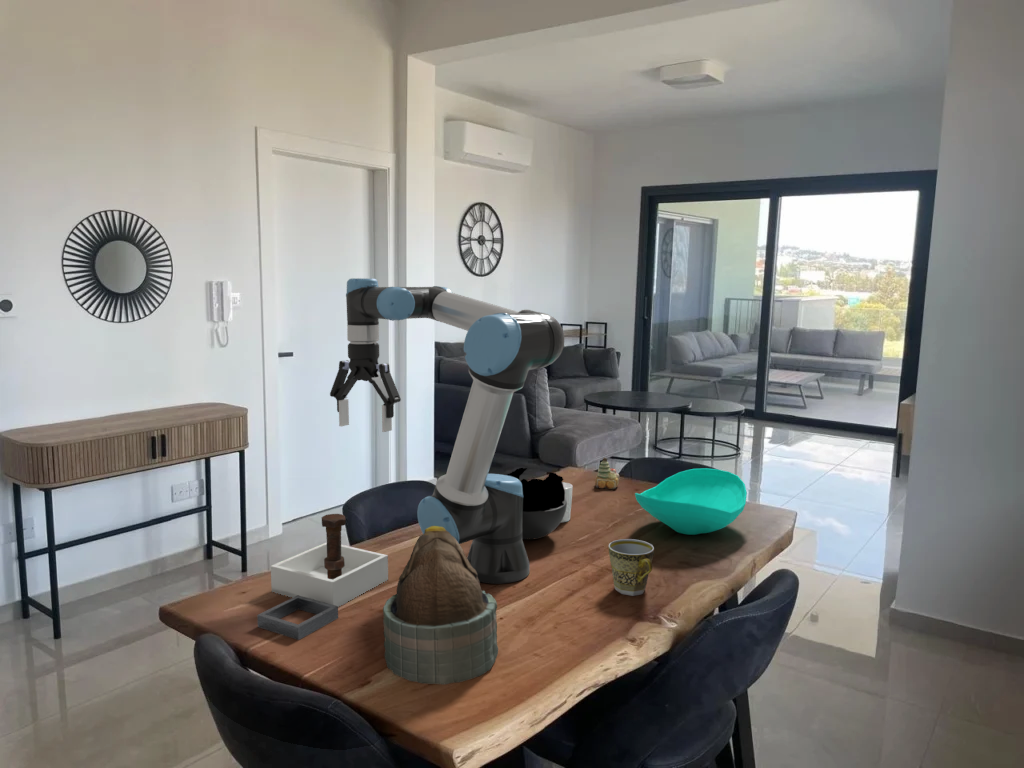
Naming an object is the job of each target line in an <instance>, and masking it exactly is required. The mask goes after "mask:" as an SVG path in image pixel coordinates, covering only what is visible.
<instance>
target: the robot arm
mask: <svg viewBox="0 0 1024 768" xmlns="http://www.w3.org/2000/svg"><path fill="white" fill-rule="evenodd" d="M345 297H346V299H345V300H346V301H345V302H346V321H347V322H346V324H347V325H346V326H347V329H346V330H347V332H346V333H347V334H346V335H347V336H346V338H347V341H348V342H349V343H348V344H347V357H348V358H349V360H348V359H345V360H340V361H339V363H338V371H337V373H336V375H335V379H334V381H333V384H332V387H331V390H330V391H329V396H330V397H331V398H332V397H333V398H335V400H336V411H337V413H338V422H339V425H338V426H339V427H345V426H348V425H350V417H349V415H350V414H349V399H348V395H349V393H350V392H351V390H352V389H353V387H354V386H355V384H356V383H357V381H364V382H368V383H370V384H371V385H372V387H373V388H374V390H375V391H376V392H377V394H378V395H379V397H380V399H381V400H382V402H383V404H382V405H381V427H382V428H381V429H382V433H387V432H390V431H393V426H392V425H393V422H392V421H393V420H392V419H393V418H394V416H395V415H394V414H395V411H394V409H395V407H394V405H395V404H396V403H399V402H401V401H402V399H401V397H400V394H399V392H398V389H397V386H396V384H395V381H394V379H393V376H392V374H391V371H390V364H389V363H388V362H385V363H384V362H383V363H380V364H379V358H380V344H379V343H378V341H379V340H380V334H379V333H380V332H379V331H380V329H379V328H380V327H379V326H380V325H379V319H380V320H389V321H393V322H394V321H403V320H407V319H408V320H409V319H430V320H434V321H437V322H440V323H444V324H446V325H449V326H452V327H455V328H458V329H461V330H464V331H467V332H466V335H465V338H464V340H463V341H464V343H463V353H465V354H466V355H465V356H464V359H465V362H466V364H467V365H468V373H469V375H470V377H471V378H472V384H471V387H470V390H469V391H470V392H469V394H468V398H467V402H466V404H465V408H464V412H463V415H462V417H461V418H462V419H461V421H460V424H459V425H460V426H459V428H458V432H457V435H456V439H455V442H454V446H453V450H452V452H451V457H450V458H449V459H450V460H449V463H448V466H447V470H446V474H444V475H441V476H439V478H437V481H436V483H435V485H434V486H435V487H434V490H433V493H432V495H427V496H426V497H424V498H423V499H421V500H420V502H418V503H419V504H418V506H417V522H418V525H419V527H420V530H421V533H422V535H423V534H424V533H425V529H427V528H429V527H431V526H439V527H443V528H445V530H446V531H448V532H449V533H450V534H451V535H452V536H453V537H454V538H455V539H456V540H457V542H458V543H459V544H460V545H461V544H465V543H467V542H471V544H470V547H469V551H468V554H467V556H466V558H467V559H468V561H469V563H470V564H471V566H472V567H473V568H474V569H475V570H476V572H477V574H478V575H477V577H478V580H479V582H480V583H485V584H499V585H500V584H510V583H515V582H518V581H521V580H523V579H525V578H527V577H528V575H529V574H530V571H531V570H530V569H531V568H530V566H531V565H530V563H531V562H530V559H529V558H528V552H527V550H526V548H525V543H524V541H523V540H524V539H522V527H523V490H522V483H521V479H520V478H519V479H517V478H515V477H511V476H507V474H501V473H500V474H499V473H489V471H490V468H491V466H492V462H493V458H494V455H495V454H496V453H495V452H496V450H497V447H498V443H499V440H500V437H501V433H502V430H503V428H504V425H505V421H506V418H507V415H508V411H509V409H510V405H511V403H512V399H513V396H514V393H515V392H517V391H519V390H521V389H523V387H524V386H525V382H526V379H527V376H528V374H529V371H531V370H538V369H543V368H545V367H548V366H549V365H552V364H553V363H554V362H556V360H557V359H559V357H560V356H561V354H562V353H563V349H564V346H565V333H564V330H563V327H562V325H561V323H560V322H559V321H558V320H557V319H556V318H555V317H554V316H552V315H551V314H548V313H545V312H540V311H535V310H531V309H527V308H524V309H521V310H519V311H517V310H515V309H511V308H507V307H503V306H500V305H498V304H497V305H496V304H493V303H489V302H485V301H483V300H479V299H475V298H472V297H469V296H465V295H461V294H458V293H455V292H452V290H451V289H450V288H448V287H445V286H437V285H434V286H379V281H378V279H376V278H365V277H364V278H361V277H360V278H359V277H358V278H353V277H352V278H349V279H348V280H347V281H346V293H345ZM349 371H350V372H349Z"/></svg>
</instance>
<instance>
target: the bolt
mask: <svg viewBox="0 0 1024 768" xmlns="http://www.w3.org/2000/svg"><path fill="white" fill-rule="evenodd" d="M343 526H346V516H345V515H344V514H341V513H331V514H330V513H329V514H326V515H323V516H322V517H321V527H323V528H325V532H326V534H325V535H326V542H327V557H326V558H325V559H324V567H325V568H326V569H327V574H328V575H327V577H328V579H332V580H333V579H335V578H337V577H339V576H341V575H342V568H343V567H344V566H345V561H344V557H343V556H341V554H342V553H341V551H342V550H341V545H342V527H343Z"/></svg>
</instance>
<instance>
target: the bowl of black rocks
mask: <svg viewBox="0 0 1024 768" xmlns="http://www.w3.org/2000/svg"><path fill="white" fill-rule="evenodd" d="M527 469H528V467H525V468H524V467H519V468H516V469H515V470H513V471H512V472H510V473H507V474H506V475H507V476H511V477H515V478H517V479H519V480H520V481H521V483H522V490H523V527H522V540H537V539H541V538H543V537H546V536H548V535H549V534H551V533H553V531H555V530H556V529H557V528H558V526H559V525H560V524H561V523H562V522H561V521H562V519H563V517H564V514H565V511H566V506H567V502H566V500H565V490H564V487H563V483H562V482H563V481H564V477H563V476H561V475H558V474H557V473H556V472H549V473H548V476H547V477H545V478H544V479H539V478H531V479H529V480H527V479H525V478H522V479H520V477H521V476H522V475H523V473H525V472H526V470H527ZM560 522H561V523H560Z"/></svg>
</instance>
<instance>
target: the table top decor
mask: <svg viewBox="0 0 1024 768" xmlns="http://www.w3.org/2000/svg"><path fill="white" fill-rule="evenodd" d="M747 492H748V491H747V488H746V484H745V482H744V481H743V480H742V479H741V478H740V476H739V475H737V474H735V473H732V472H730V471H727V470H722V469H719V468H718V469H717V468H707V467H705V468H701V467H700V468H692V469H686V470H683V471H679V472H677V473H675V474H673V475H671V476H669V477H666V478H664V480H662V481H661V482H659V483H658V484H657V485H656V486H654V487H651V488H649V489H646V490H644V491H643V492H641V493H638V492H635V493H634V496H635V499H636V500H635V501H636V502H637V503H638V505H640V507H641V508H642V509H643V510H645V512H647V513H649V514H650V515H651V516H652V517H653V518H655V519H657V520H658V521H660V522H662V523H663V524H664V525H666V526H667V527H669V528H670V529H672V530H674V531H675V532H676V533H678V534H683V535H688V536H689V535H690V536H691V535H692V536H695V535H696V536H697V535H700V534H707V533H708V534H710V533H712V532H716V531H719V530H721V529H724V528H726V527H728V526H729V525H731V524H732V523H733V522H734V521H735V520H736V519H737V518H738V517H739V516H740V514H741V513H742V512H743V511H744V509H745V507H746V503H747V494H748V493H747Z"/></svg>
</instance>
